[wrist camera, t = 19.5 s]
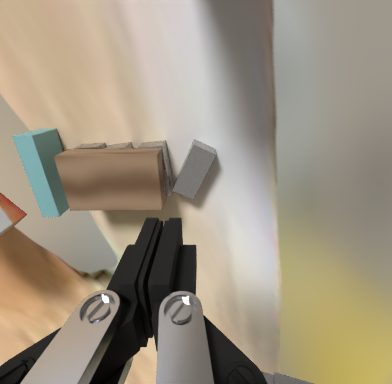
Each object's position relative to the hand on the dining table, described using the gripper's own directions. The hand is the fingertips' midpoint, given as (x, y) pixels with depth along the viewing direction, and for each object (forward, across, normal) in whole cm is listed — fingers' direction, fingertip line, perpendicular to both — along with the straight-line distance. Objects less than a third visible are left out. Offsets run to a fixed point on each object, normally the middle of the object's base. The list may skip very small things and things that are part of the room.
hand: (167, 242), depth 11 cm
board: (+25, +12, +6) cm, 29 cm away
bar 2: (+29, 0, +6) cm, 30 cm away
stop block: (+29, +25, +6) cm, 39 cm away
